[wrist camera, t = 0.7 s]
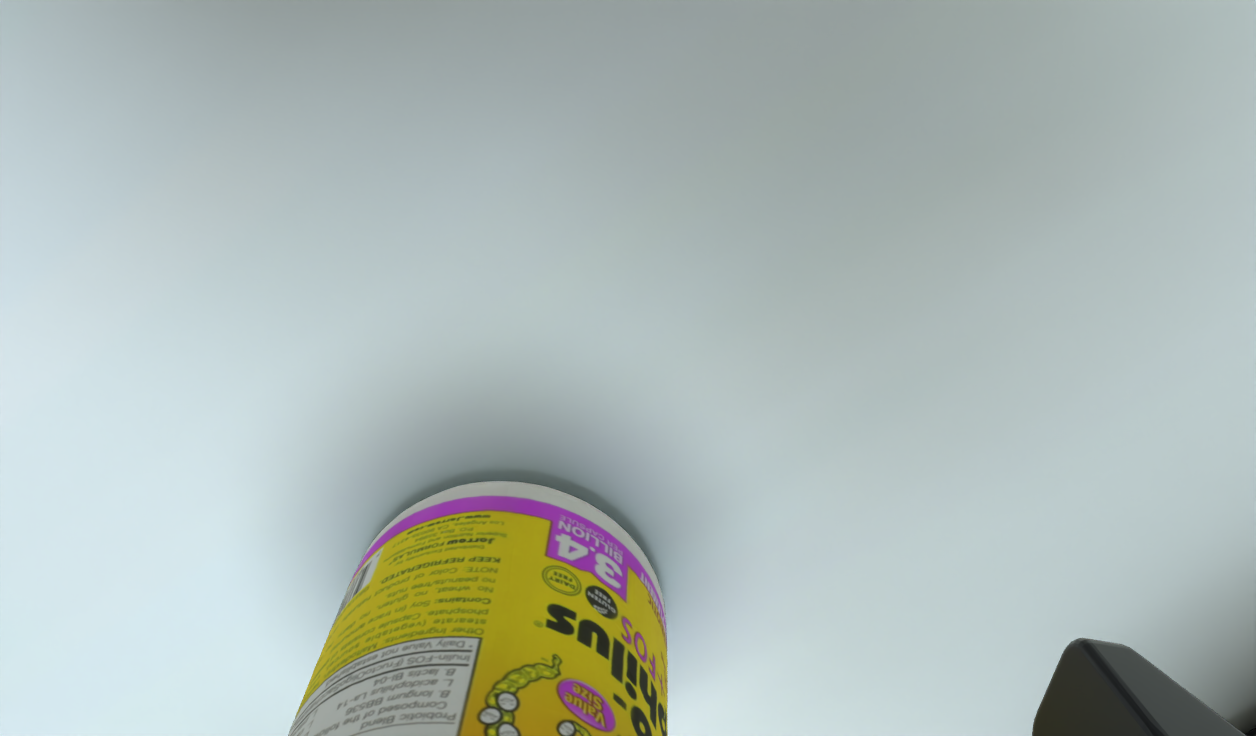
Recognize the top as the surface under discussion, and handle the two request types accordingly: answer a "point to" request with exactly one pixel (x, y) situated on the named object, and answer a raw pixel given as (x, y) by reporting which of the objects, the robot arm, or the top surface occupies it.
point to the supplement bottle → (495, 625)
